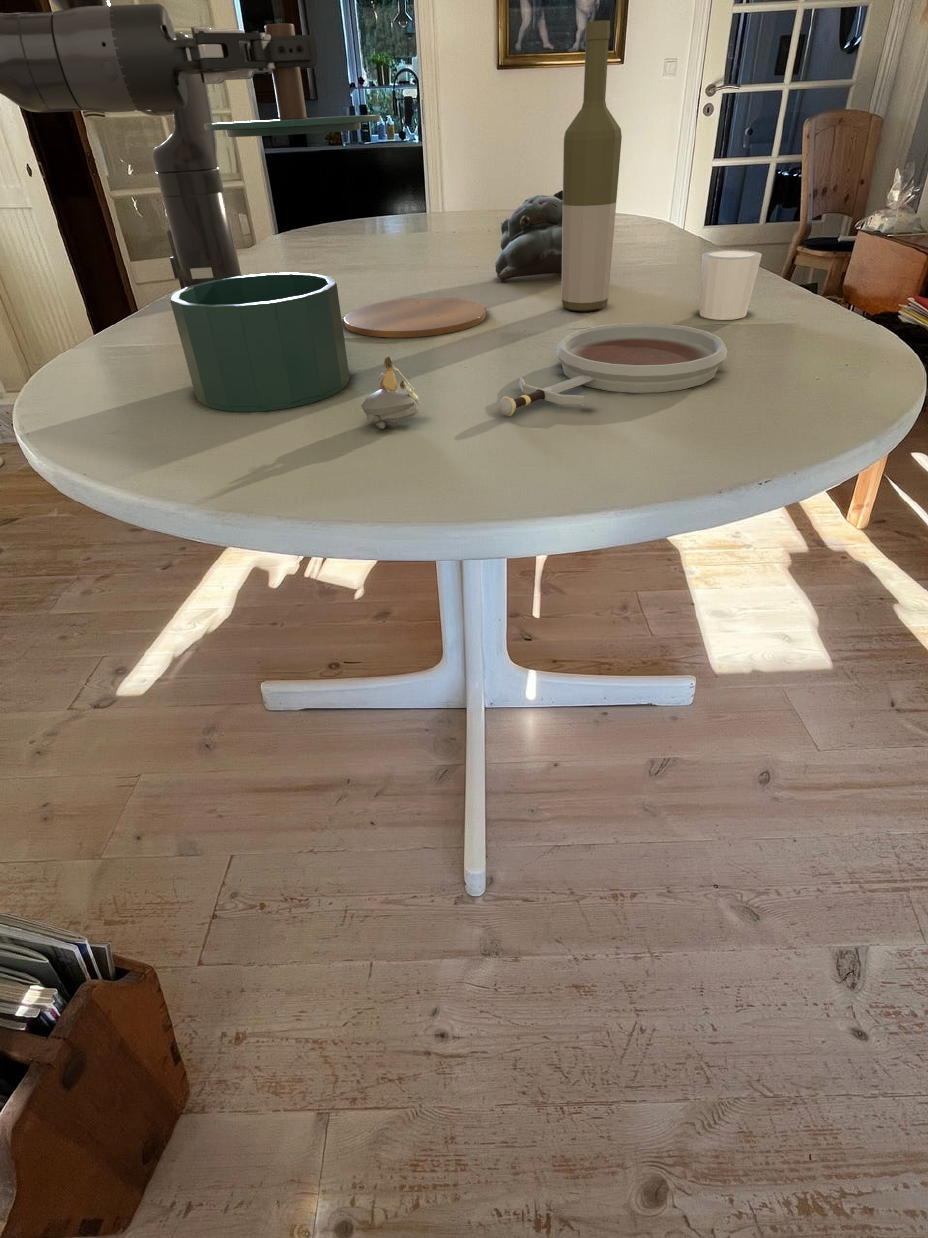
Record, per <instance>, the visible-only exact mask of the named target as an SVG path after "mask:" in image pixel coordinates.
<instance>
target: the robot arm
mask: <svg viewBox="0 0 928 1238" xmlns="http://www.w3.org/2000/svg"><path fill="white" fill-rule="evenodd" d="M50 2H52V4H53V5H54V6H55V7H56V8H57V9H58V10H56V11H53V10H52V11H51V10H50V11H24V12H12V13H11V12H10V13H4V12H0V95H2V96H3V97H5V98H7V99H8V100H9V101H11V102H12V103H13V104H15V105H16V106H18V107H20V108H22V109H24V110H26V111H29V112H31V113H32V112H33V113H60V112H61V113H62V112H78V111H79V112H80V111H93V112H102V113H127V112H130V113H131V112H141V113H142V114H144V115H147V116H150V117H151V116H153V117H168V116H173V125H174V127H173V131H172V133H171V134H170V135H169V137H168V138H167V140H165V141H164V142H163V143H161V144H159V145H158V146H156V147H155V148H153V149H152V152H151V159H152V164H153V168H154V172H155V175H156V180H157V183H158V188H159V191H160V195H161V198H162V203H163V206H164V211H165V215H166V217H167V222H168V225H169V226H168V227H169V229H167V230H166V234H167V239H168V243H169V247H170V251H171V255H172V256H170V257H169V261H170V266H171V269H172V273H173V276H174V279H175V280H176V279H177V280H178V283H179V286H180V290H181V289H184V288H186V287H188V286H192V285H196V284H200V283H204V282H208V281H213V280H219V279H225V278H231V277H237V276H242V272H241V271H242V270H241V268H240V267H241V266H240V262H239V256H238V251H237V248H236V247H237V246H236V243H235V242H236V241H235V237H234V234H233V228H232V224H231V219H230V214H229V209H228V205H227V200H226V195H225V191H224V190H225V189H224V185H223V181H222V175H221V171H220V166H219V160H218V142H217V134H216V133H217V132H216V130H210V131H206V130H205V128H204V124H212V123H214V122H215V121H214V117H213V110H212V105H211V104H212V103H211V98H210V92H209V85H221V84H223V83H224V82H225V81H238V80H239V81H240V80H251V79H252V78H253V77H254V75H257V74H263V75H265V76H267V75H270V74H272V71H273V70H272V69H276V64H275V62H276V63H277V68H284V67H300V70H301V69H302V70H303V69H314V68H316V67H317V65H318V54H317V46H316V40H315V38H314V36H312V35H311V34H295V35H292V36H272V37H273V41H272V39H271V35H269V34H267V33H266V32H259V31H258V30H252V31H251V32H244V30H242V29H240V28H224V29H223V28H221V29H219V28H218V29H212V28H210V27H208V26H192V27H190V32H191V36H192V37H189V36H188V35H186V34H185V33H183V32H181V31H175V27H174V25H173V21H172V19H171V16H170V14H169V12H168V10H167V9H166V7H164V6H163V5H162V4H160V3H142V4H136V3H135V4H116V5H115V4H113V5H112V4H111V3H110V0H50ZM272 75H273V74H272Z"/></svg>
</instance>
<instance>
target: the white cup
mask: <svg viewBox="0 0 928 1238" xmlns="http://www.w3.org/2000/svg"><path fill="white" fill-rule="evenodd" d="M762 256H763V254H762V253H761V252H759V251H754V250H748V249H747V250H746V249H718V250H711V251H706V252H704V253H702V257H701V259H702V260H701V276H700V277H701V279H700V297H699V299H700V300H699V317H702V318H705V319H710V320H716V321H717V320H719V321H720V320H721V321H731V320H739V319H743V318H745V317H746V316H747V313H748V309H749V305H750V302H751V298H752V294H753V291H754V286H755V283H756V279H757V275H758V271H759V267H760V263H761V259H762Z"/></svg>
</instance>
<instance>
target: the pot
mask: <svg viewBox="0 0 928 1238" xmlns="http://www.w3.org/2000/svg"><path fill="white" fill-rule="evenodd" d="M339 297H340V296H339V291H338V283H337V282H336V280H335V278H334V277H331V276H327V275H323V274H319V273H307V272H306V273H305V272H279V273H278V272H277V273H275V272H274V273H273V272H272V273H271V272H270V273H259V274H248V275H241V276H237V277H231V278H225V279H219V280H213V281H208V282H204V283H200V284H196V285H192V286H188V287H186V288H184V289H181V288H180V289H179V290H176V291H175V292H173V293H172V294H171V296H170V305H171V309H172V312H173V317H174V320H175V324H176V327H177V331H178V335H179V339H180V343H181V346H182V350H183V353H184V358H185V361H186V364H187V368H188V372H189V377H190V380H191V384H192V387H193V392H194V395H195V396H196V398H197V400H198V402H200V404H201V405H204V406H206V407H207V408H211V409H215V410H220V411H224V412H225V411H226V412H237V413H250V412H251V413H256V412H270V411H277V410H278V411H279V410H285V409H291V408H297V407H301V406H305V405H309V404H314V403H316V402H319V401H322V400H325V399H327V398H329V397H332V396H333V395H336V394H338V393H339V392H340V391H342V390H343V389H344V388H346V387H347V385H348V383H349V380H350V371H349V364H348V355H347V350H346V341H345V334H344V326H343V320H342V313H341V305H340V299H339Z"/></svg>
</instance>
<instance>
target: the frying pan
mask: <svg viewBox="0 0 928 1238" xmlns="http://www.w3.org/2000/svg"><path fill="white" fill-rule="evenodd" d="M555 351H556V357H557V358H558V360H559V361H560V363H561V366H562V372H563V374H564V375H565V376H566V377H567V378H568V379H566V380H564V381H560V382H557V383H555V384H552V385H549V386H546V387H543V388H540V387H536V386H532V385H529V384H526V382H525V380H524V378H522V376H520V377H519V388H520V390H521V392H522V395H520V396H519V397H516V398H512V397H509V396H507V395H506V396H503V397H501V400H500V401H499V403H498V410H499V411H500V413H501V414H503V415H505V416H506V417H511V416H512V415H514V413H515V411H516V409H518V408H520V407H523V406H528V405H529V404H531V403H534V402H537V401H540V400H542V401H547V402H550V403H553V404H556V405H561V406H562V405H563V406H581V407H584V406H586V395H577V394H561V393H562V392H567V391H569V390H571V389H575V388H577V387H580V386H585V387H588V388H593V389H596V390H597V389H598V390H603V391H608V392H618V393H632V394H647V393H651V394H652V393H667V392H674V391H681V390H682V391H683V390H687V389H690V388H693V387H694V388H695V387H698V386H701V385H704V384H705V383H707V382H709V381H710V380H712V379H714V377H715V376H716V373H717V371H718V368H719V367H720V365H721V364H722V363H723V362H725V360H726V357H727V355H728V352H729V351H728V349H727V347H726V344H725V343H724V341H723V340H722V339H721V337H720V336H717V335H715V334H714V333H711V332H709V331H707V330H703V329H699V328H695V327H690V326H686V325H677V324H669V323H657V322H655V323H654V322H627V323H625V322H624V323H612V324H603V325H595V326H592V327H587V328H583V329H579V330H577V331H574V332H572V333H569V334H566V336H564V337H563V339H562V340H560V341H559V342H558V345H557V347H556V349H555Z"/></svg>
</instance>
